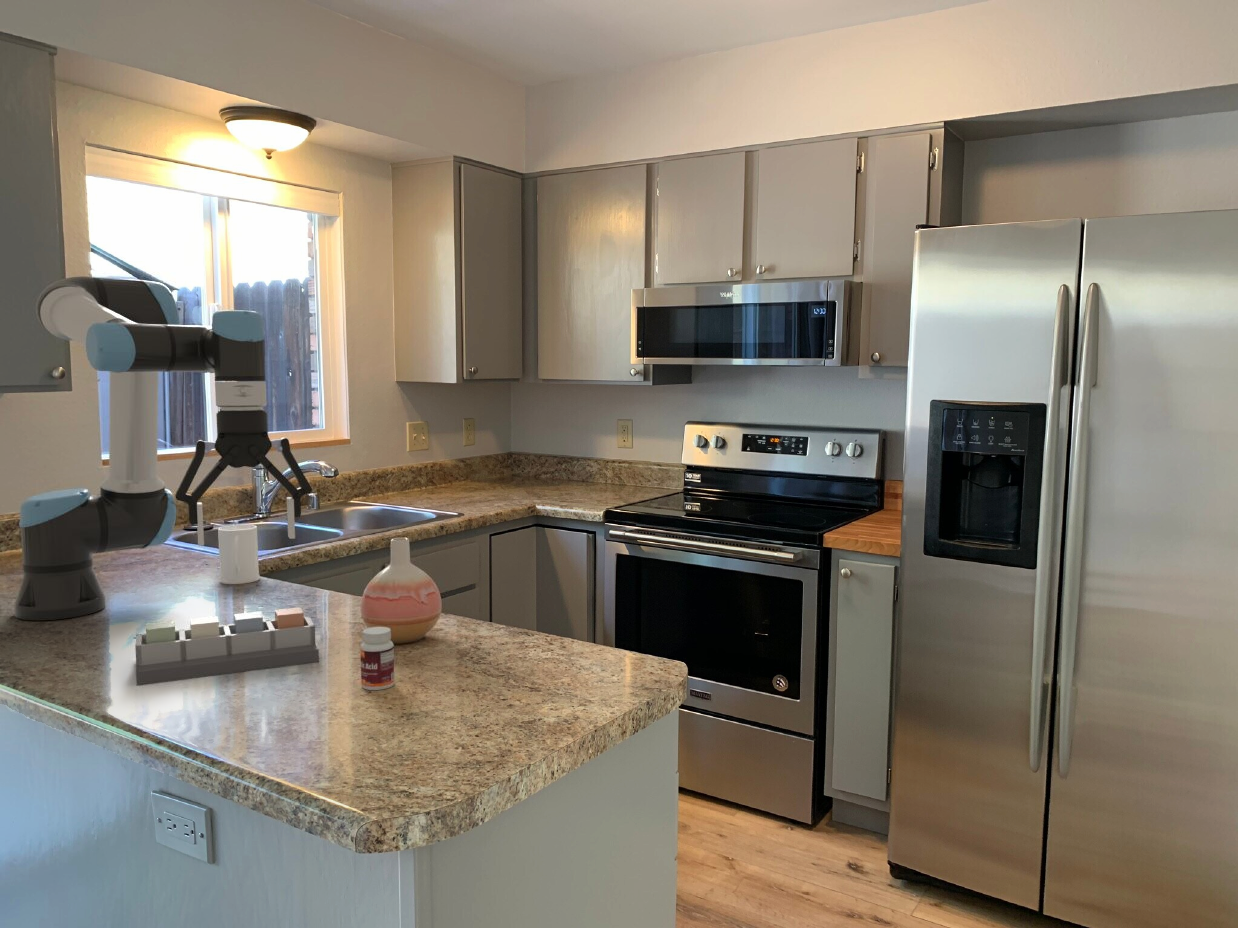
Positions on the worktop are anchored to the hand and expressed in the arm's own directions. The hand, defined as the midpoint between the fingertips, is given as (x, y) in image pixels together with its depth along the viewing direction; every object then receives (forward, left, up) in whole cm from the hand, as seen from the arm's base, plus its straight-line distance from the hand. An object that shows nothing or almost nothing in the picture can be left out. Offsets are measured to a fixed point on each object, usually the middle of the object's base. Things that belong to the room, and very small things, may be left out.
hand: (247, 541), depth 151 cm
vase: (+24, -1, -19) cm, 31 cm away
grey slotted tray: (-4, -1, -19) cm, 19 cm away
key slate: (0, -1, -15) cm, 15 cm away
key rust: (+6, -1, -15) cm, 16 cm away
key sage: (-13, -1, -15) cm, 20 cm away
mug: (+2, +61, -19) cm, 64 cm away
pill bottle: (+15, -24, -19) cm, 34 cm away
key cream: (-7, -1, -15) cm, 17 cm away
